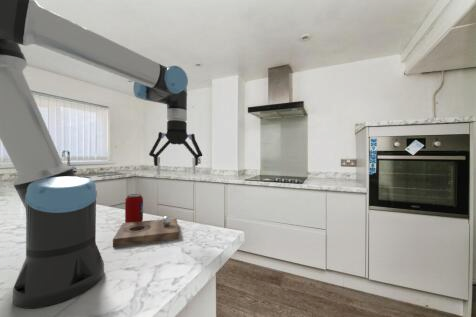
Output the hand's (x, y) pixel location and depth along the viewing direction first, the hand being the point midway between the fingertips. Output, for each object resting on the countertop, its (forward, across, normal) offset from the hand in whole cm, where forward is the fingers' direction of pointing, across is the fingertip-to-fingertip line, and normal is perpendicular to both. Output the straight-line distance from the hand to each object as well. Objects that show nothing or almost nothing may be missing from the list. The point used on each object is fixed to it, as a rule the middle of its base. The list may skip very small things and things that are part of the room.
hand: (176, 174), depth 80 cm
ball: (+17, +4, +3) cm, 18 cm away
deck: (+22, +10, +3) cm, 24 cm away
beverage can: (+22, +16, -12) cm, 30 cm away
